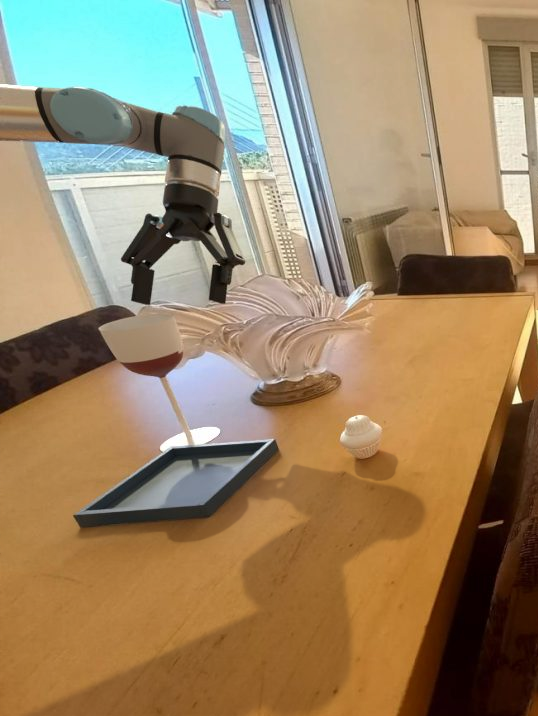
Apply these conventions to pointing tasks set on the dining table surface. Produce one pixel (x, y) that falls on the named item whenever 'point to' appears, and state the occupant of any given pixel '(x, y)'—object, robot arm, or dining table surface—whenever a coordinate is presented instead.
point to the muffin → (361, 437)
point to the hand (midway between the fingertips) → (178, 302)
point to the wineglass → (154, 361)
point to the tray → (179, 484)
